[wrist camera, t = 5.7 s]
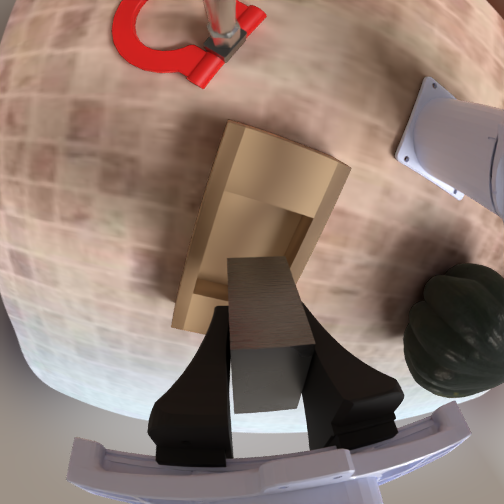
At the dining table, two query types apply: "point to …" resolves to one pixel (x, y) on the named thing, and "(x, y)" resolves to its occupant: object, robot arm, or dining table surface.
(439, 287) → the squash
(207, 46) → the tow hook
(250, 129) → the open wooden tray
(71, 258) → the dining table surface
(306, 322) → the grey rectangular prism
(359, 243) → the dining table surface
